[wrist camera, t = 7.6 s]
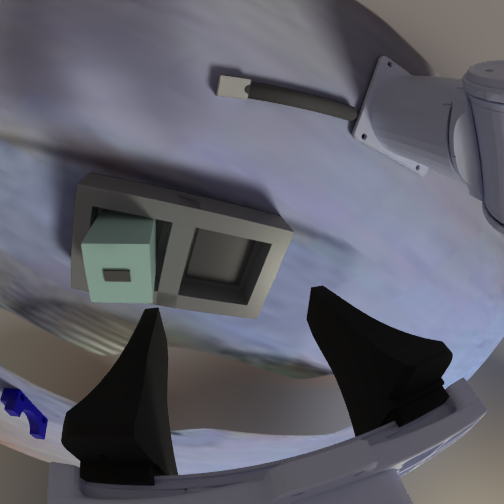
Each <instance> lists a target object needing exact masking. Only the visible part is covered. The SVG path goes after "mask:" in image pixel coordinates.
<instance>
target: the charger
mask: <svg viewBox="0 0 504 504" xmlns="http://www.w3.org/2000/svg"><path fill="white" fill-rule="evenodd" d="M81 248H82V254H83V261H84V267H85V273H86V278H87V283H88V288H89V293H90V298H91V302H111V303H153V295H154V283H155V273H156V263H157V255H156V219H153V218H148V217H144V216H139V215H134V214H129V213H124V212H119V211H101V212H100V214H99V215H98V217H97V219H96V220H95V222H94V223H93V225H92V226H91V228H90V230H89V231H88V233H87V234H86V236H85V238H84V239H83V241H82V243H81Z"/></svg>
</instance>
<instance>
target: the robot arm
mask: <svg viewBox="0 0 504 504" xmlns="http://www.w3.org/2000/svg"><path fill="white" fill-rule="evenodd" d="M388 63H389V64H390V66H388ZM362 134H364V138H363V139H362ZM352 136H353V138H354V139H356V140H358V141H360V142H362V143H364V144H366V145H368V146H370V147H371V148H373V149H375V150H377V151H379V152H381V153H383V154H384V155H386V156H388V157H390V158H392V159H393V160H395V161H397V162H399V163H400V164H402V165H404V166H406V167H407V168H409V169H411V170H412V171H414V172H415V173H417V174H419V175H421V176H425V175H426V173H427V171H428V168H430V169H432V170H434V171H437V172H439V173H441V174H443V175H446V176H448V177H450V178H452V179H454V180H457V181H459V182H461V183H463V184H465V185H467V186H468V189H469V194H470V195H471V196H473V197H475V198H477V199H479V200H481V201H482V208H483V213H484V215H485V217H486V219H487V221H488V222H489V224H490V225H491V226H492V227H493V228H494V229H496V230H497V231H498V232H500V233H501V234H503V235H504V60H497V61H487V62H482V63H478V64H475V65H473V66H471V67H470V68H469V69H468V71H467V72H466V73H465V74H464V75H463V77H462V79H456V78H446V77H433V76H412V75H411V74H410V73H408V72H407V71H406V70H405V69H403V68H402V67H401V66H399V65H398V64H396V63H395V62H394V61H392V60H391V59H389V58H388V57H386V56H380V57H379V59H378V62H377V65H376V68H375V71H374V74H373V77H372V79H371V82H370V85H369V88H368V91H367V94H366V96H365V99H364V102H363V105H362V107H361V110H360V113H359V115H358V118H357V121H356V123H355V126H354V129H353V131H352ZM416 166H417V168H416ZM307 322H308V324H309V327H310V330H311V332H312V335H313V337H314V339H315V341H316V342H317V344H318V346H319V348H320V350H321V351H322V353H323V355H324V357H325V359H326V360H327V362H328V364H329V366H330V367H331V369H332V371H333V373H334V375H335V378H336V380H337V382H338V385H339V387H340V390H341V392H342V395H343V398H344V401H345V403H346V406H347V409H348V412H349V416H350V419H351V422H352V426H353V429H354V433H355V437H354V438H352V439H349V440H346V441H343V442H340V443H338V444H335V445H332V446H329V447H326V448H322V449H319V450H316V451H313V452H309V453H306V454H302V455H298V456H295V457H291V458H287V459H283V460H278V461H274V462H270V463H265V464H260V465H255V466H250V467H244V468H238V469H232V470H225V471H217V472H209V473H200V474H188V475H178V472H177V468H176V463H175V458H174V452H173V446H172V440H171V433H170V427H169V417H168V408H167V377H168V349H167V339H166V335H165V331H164V327H163V323H162V320H161V316H160V312H159V308H150V309H145V310H144V312H143V314H142V316H141V319H140V321H139V323H138V325H137V327H136V329H135V331H134V333H133V335H132V336H131V338H130V340H129V342H128V344H127V345H126V347H125V349H124V350H123V352H122V354H121V355H120V357H119V358H118V360H117V361H116V363H115V364H114V366H113V367H112V368H111V370H110V371H109V372H108V373H107V375H106V376H105V377H104V378H103V379H102V381H101V382H100V383H99V384H98V385H97V386H96V387H95V388H94V389H93V390H92V391H91V392H90V393H89V394H88V395H87V396H86V397H85V398H84V399H83V400H82V401H80V402H79V403H78V404H77V405H75V406H74V407H73V408H72V409H70V410H69V411H68V412H66V416H65V420H64V424H63V431H62V438H61V442H62V445H63V446H64V447H65V448H66V449H67V450H68V451H69V452H70V453H71V454H73V455H74V456H75V457H76V458H77V459H79V460H80V468H79V467H77V466H74V465H69V464H62V463H56V462H50V468H49V480H48V499H47V500H48V501H47V504H413V503H412V501H411V499H410V497H409V495H408V493H407V491H406V489H405V487H404V485H403V483H402V481H401V480H400V478H399V477H401V476H403V475H405V474H406V473H408V472H410V471H411V470H413V469H415V468H416V467H418V466H420V465H421V464H423V463H424V462H426V461H428V460H429V459H431V458H432V457H434V456H435V455H437V454H438V453H440V452H441V451H443V450H444V449H445V448H447V447H448V446H449V445H451V444H453V443H454V442H455V441H457V440H458V439H459V438H461V437H462V436H463V435H464V434H466V433H467V432H468V431H469V430H470V429H471V428H472V427H473V426H474V425H475V424H476V423H477V422H478V421H479V420H480V419H481V418H482V417H483V416H484V415H485V414H486V412H487V411H488V409H487V408H486V406H485V405H484V404H483V402H482V401H481V400H480V398H479V397H478V396H477V394H476V393H475V392H474V390H473V389H472V388H471V386H470V385H469V384H468V383H467V381H466V380H465V379H464V378H461V379H460V380H458V381H457V382H455V383H453V384H452V385H450V386H449V387H448V388H446V389H444V388H443V386H442V385H443V384H444V381H443V380H442V378H441V377H442V375H443V374H444V372H445V371H446V369H447V368H448V366H449V365H450V363H451V360H452V357H453V355H452V352H451V351H450V350H449V349H448V348H447V346H446V345H445V344H444V343H443V342H442V341H436V340H431V339H426V338H422V337H418V336H415V335H412V334H408V333H405V332H403V331H400V330H397V329H395V328H392V327H390V326H388V325H386V324H384V323H382V322H380V321H377V320H376V319H374V318H372V317H370V316H368V315H367V314H365V313H363V312H362V311H360V310H358V309H357V308H355V307H354V306H352V305H351V304H349V303H348V302H346V301H345V300H343V299H342V298H340V297H339V296H337V295H336V294H335V293H333V292H332V291H330V290H329V289H327V288H326V287H324V286H317V287H311V293H310V300H309V307H308V313H307Z"/></svg>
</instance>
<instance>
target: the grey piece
mask: <svg viewBox="0 0 504 504" xmlns="http://www.w3.org/2000/svg"><path fill="white" fill-rule="evenodd" d="M101 211H119V212H124V213H129V214H134V215H139V216H144V217H148V218H153V219H156V255H157V263H156V273H155V283H154V295H153V303H149V304H154V305H160V306H166V307H173V308H179V309H185V310H192V311H199V312H206V313H213V314H220V315H228V316H236V317H244V318H253V319H257V317H258V315H259V312H260V310H261V308H262V306H263V303H264V301H265V299H266V297H267V294H268V292H269V290H270V288H271V285H272V283H273V281H274V278H275V276H276V274H277V271H278V269H279V267H280V264H281V262H282V260H283V257H284V255H285V253H286V250H287V248H288V246H289V243H290V241H291V238H292V236H293V234H294V231H293V230H292V229H291V228H290V226H289V225H288V224H287V223H286V222H285V220H284V219H283V218H282V217H281V216H278V215H274V214H271V213H267V212H263V211H259V210H255V209H251V208H247V207H243V206H239V205H235V204H231V203H227V202H223V201H219V200H215V199H211V198H206V197H202V196H198V195H194V194H189V193H185V192H181V191H176V190H172V189H167V188H163V187H158V186H153V185H149V184H144V183H139V182H135V181H130V180H125V179H120V178H115V177H110V176H105V175H99V174H94V173H89V174H88V175H87V176H86V177H85V178H84V179H82V180H81V181H80V182H79V183H78V184H77V189H76V197H75V206H74V217H73V230H72V249H71V288H74V289H78V290H83V291H87V292H89V288H88V283H87V278H86V273H85V267H84V261H83V254H82V248H81V243H82V241H83V239H84V238H85V236H86V234H87V233H88V231H89V230H90V228H91V226H92V225H93V223H94V222H95V220H96V219H97V217H98V215H99V214H100V212H101Z"/></svg>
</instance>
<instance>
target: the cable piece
mask: <svg viewBox="0 0 504 504" xmlns="http://www.w3.org/2000/svg"><path fill="white" fill-rule="evenodd" d="M216 95H217V96H225V97H233V98H240V99H248V98H250V99H256V100H262V101H268V102H273V103H278V104H283V105H288V106H293V107H298V108H302V109H306V110H311V111H315V112H319V113H323V114H327V115H331V116H334V117H338V118H342V119H345V120H349V121H352V120H354V119H355V118H356V117H357V111H356V109H355V108H354V107H352V106H350V105H346V104H343V103H340V102H336V101H333V100H330V99H326V98H322V97H319V96H315V95H311V94H307V93H303V92H299V91H295V90H290V89H286V88H281V87H276V86H271V85H266V84H261V83H255V82H251V80H250V79H244V78H237V77H230V76H223V75H220V76H219V80H218V85H217V91H216Z"/></svg>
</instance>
